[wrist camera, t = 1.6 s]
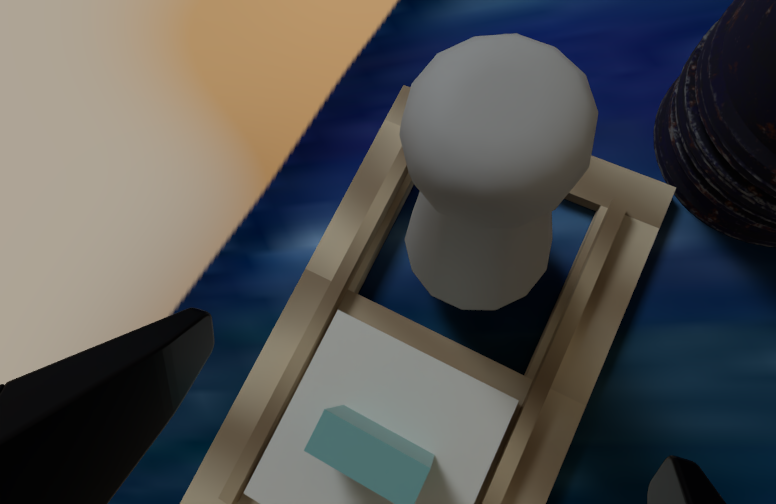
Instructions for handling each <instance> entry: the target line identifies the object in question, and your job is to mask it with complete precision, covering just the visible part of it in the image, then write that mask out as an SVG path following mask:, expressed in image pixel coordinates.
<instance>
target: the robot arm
mask: <svg viewBox="0 0 776 504" xmlns="http://www.w3.org/2000/svg"><path fill="white" fill-rule="evenodd" d="M213 346H214V334H213V324H212V317H211V315H210V313H208V312H206V311H203V310H200V309H197V308H188V309H186V310H183V311H181V312H178V313H176V314H173V315H171V316H168V317H166V318H163V319H161V320H159V321H156V322H154V323H151V324H149V325H147V326H144V327H141V328H139V329H137V330H134V331H132V332H129V333H127V334H124V335H122V336H119V337H117V338H114V339H112V340H110V341H107V342H105V343H103V344H100V345H97V346H95V347H92V348H90V349H87V350H85V351H82V352H80V353H78V354H75V355H73V356H70V357H68V358H65V359H63V360H60V361H58V362H56V363H53V364H51V365H48V366H46V367H43V368H41V369H38V370H36V371H33V372H31V373H28V374H26V375H24V376H21V377H19V378H16V379H14V380H12V381H9V382H7V383H6V384H5V385H4V384H1V385H0V504H107V503H108V502H109V501H110V499H111V498H112V497H113V495H114V494H115V493H116V491H117V490H118V489H119V487H120V486H121V485H122V483H123V482H124V481H125V479H126V478H127V477H128V475H129V474H130V473H131V471H132V470H133V469H134V467H135V466H136V465H137V463H138V462H139V461H140V459H141V458H142V457H143V455H144V454H145V453H146V451H147V450H148V449H149V447H150V446H151V445H152V443H153V442H154V441H155V439H156V438H157V437H158V435H159V434H160V433H161V431H162V430H163V429H164V427H165V426H166V425H167V423H168V422H169V420H170V419H171V418H172V416H173V415H174V413H175V412H176V410H177V409H178V407H179V406H180V404H181V402H182V401H183V399H184V397H185V396H186V394H187V392H188V391H189V389H190V387H191V386H192V384H193V382H194V381H195V379H196V377H197V376H198V374H199V372H200V371H201V369H202V367H203V366H204V364H205V362H206V360H207V359H208V357H209V355H210V354H211V352H212V350H213ZM647 504H726V503H725V501H724V500H723V498H722V497H721V496H720V494H719V493H718V492H717V490H716V489H715V488H714V486H713V485H712V483H711V482H710V481H709V479H708V478H707V477H706V475H705V474H704V472H703V471H702V470H701V468H700V467H699V466H698V465H697V464H696V463H694V462H693V461H690V460H687V459H683V458H680V457H677V456H669V457H667V458H666V459H665V461H664V462H663V464H662V465H661V467H660V468H659V470H658V471H657V473H656V474H655V476H654V477H653V479H652V480H651V482H650V484H649V488H648V495H647Z"/></svg>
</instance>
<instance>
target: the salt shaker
mask: <svg viewBox="0 0 776 504" xmlns="http://www.w3.org/2000/svg"><path fill="white" fill-rule="evenodd" d="M597 117H598V110H597V107H596V104H595V101H594V98H593V95H592V92H591V89H590V86H589V83H588V80H587V77H586V75H585V74H584V73H583V72H582V71H581V70H580V69H579V68H578V67H577V66H575V65H574V64H573V63H572V62H571V61H570V60H569V59H568V58H567V57H566V56H565V55H563V54H562V53H561V52H560V51H559V50H558V49H557V48H556V47H553V46H550V45H548V44H545V43H542V42H539V41H536V40H533V39H530V38H528V37H525V36H522V35H519V34H503V35H489V36H475V37H472V38H470V39H468V40H466V41H464V42H462V43H460V44H457V45H455V46H453V47H451V48H449V49H447V50H445V51H442V52H440V53H438V54H437V55H436V56H435V57H434V58H433V59H432V61H431V62H430V63H429V64H428V65H427V66H426V68H425V69H424V70H423V71H422V72H421V74H420V75H419V76H418V77H417V78H416V79H415V81H414V82H413V83H412V85H411V88H410V92H409V95H408V99H407V102H406V106H405V109H404V113H403V117H402V120H401V127H400V134H399V135H400V139H401V143H402V147H403V152H404V156H405V160H406V164H407V168H408V172H409V175H410V177H411V179H412V182H413V183H414V185H415V186H416V187H417V188H418V189H419V191H420V192H419V195H418V198H417V201H416V203H415V206H414V209H413V211H412V215H411V219H410V222H409V226H408V229H407V233H406V237H405V244H406V248H407V252H408V256H409V260H410V264H411V269H412V271H413V272H414V274H415V275H416V276H417V278H418V279H419V280H420V281H421V283H422V284H423V285H424V287H425V288H426V289H427V290H428V292H429V293H430V294H431V296H434V297H436V298H438V299H440V300H442V301H444V302H446V303H449V304H451V305H453V306H455V307H457V308H459V309H461V310H497V309H499V308H501V307H503V306H505V305H508V304H510V303H512V302H514V301H516V300H518V299H520V298H522V297H524V296H526V295H527V294H528V293H529V291H530V290H531V289H532V288H533V286H534V285H535V284H536V283H537V281H538V280H539V279H540V278H541V276H542V275H543V274H544V272H545V271H546V270H547V265H548V259H549V254H550V249H551V243H552V211H553V210H555V209H556V208H557V207H558V205H559V204H560V203H561V202H562V200H563V199H564V198H565V197H566V196H567V194H568V193H569V192H570V191H571V189H572V188H573V187H574V186H575V185H576V183H577V182H578V181H579V180H580V178H581V177H582V176H583V175H584V173H585V172H586V171H587V169H588V168H589V165H590V159H591V153H592V147H593V141H594V135H595V129H596V123H597Z"/></svg>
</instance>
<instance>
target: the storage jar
mask: <svg viewBox="0 0 776 504" xmlns="http://www.w3.org/2000/svg"><path fill="white" fill-rule="evenodd" d="M654 149H655V154H656V159H657V163H658V165H659V168H660V170H661V173H662V176H663V178H664V179H665V181H666V183H667V184H668V185H671V186H674V187H676V190H675V192H674V195H675V196H676V197H677V198H678V200H679V201H680V202H681V203H682V205H684V206H685V207H686V208H687V209H688V210H689V211H690V212H691V213H692V214H693V215H695V216H696V217H697V218H698V219H700V220H701V221H703V222H704V223H706V224H707V225H709V226H710V227H712V228H714V229H716V230H718V231H720V232H722V233H724V234H726V235H728V236H730V237H733V238H736V239H738V240H741V241H744V242H747V243H752V244H757V245H762V246H767V247H776V0H734V1H733V3H732V4H731V5H730V6H729V7H728V9H727V10H726V11H725V13H724V14H723V15H722V17H721V18H720V19H719V21H717V22H716V23H715V24H714V25H713V26H712V28H711V29H710V30H709V31H708V32H707V33H706V35H705V36H704V37H703V38H702V40H701V41H700V42H699V44H698V45H697V47H696V48H695V50H694V51H693V52H692V54H691V55H690V57H689V59H688V60H687V62H686V64H685V66H684V67H683V70H682V73H681V74H680V76H679V77H678V78H677V79H676V80H675V82H674V83H673V84H672V86H671V87H670V88H669V90H668V91H667V93H666V95H665V97H664V98H663V100H662V102H661V104H660V107H659V109H658V112H657V115H656V120H655V125H654Z"/></svg>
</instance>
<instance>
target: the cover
mask: <svg viewBox="0 0 776 504" xmlns="http://www.w3.org/2000/svg"><path fill="white" fill-rule="evenodd" d="M518 402H519V400H517V399H515V398H513V397H511V396H509V395H507V394H505V393H503V392H501V391H499V390H497V389H495V388H493V387H491V386H489V385H487V384H485V383H483V382H481V381H479V380H477V379H475V378H473V377H471V376H469V375H467V374H465V373H463V372H461V371H459V370H457V369H455V368H453V367H451V366H449V365H447V364H445V363H443V362H441V361H439V360H437V359H435V358H433V357H431V356H429V355H427V354H425V353H423V352H421V351H419V350H417V349H415V348H413V347H411V346H409V345H407V344H405V343H404V342H402V341H400V340H398V339H396V338H394V337H392V336H390V335H388V334H386V333H384V332H382V331H380V330H378V329H376V328H374V327H372V326H370V325H368V324H366V323H364V322H362V321H360V320H358V319H356V318H354V317H352V316H350V315H348V314H346V313H344V312H342V311H340V310H337V312H336V314H335V316H334V318H333V320H332V322H331V324H330V326H329V328H328V330H327V332H326V334H325V336H324V338H323V339H322V341H321V343H320V345H319V347H318V349H317V351H316V353H315V355H314V357H313V359H312V361H311V363H310V365H309V367H308V369H307V371H306V372H305V374H304V376H303V378H302V380H301V382H300V384H299V386H298V388H297V390H296V392H295V394H294V396H293V398H292V400H291V402H290V404H289V405H288V407H287V409H286V411H285V413H284V415H283V417H282V419H281V421H280V423H279V425H278V427H277V429H276V431H275V433H274V435H273V437H272V438H271V440H270V442H269V444H268V446H267V448H266V450H265V452H264V454H263V456H262V458H261V460H260V462H259V464H258V466H257V468H256V470H255V471H254V473H253V475H252V477H251V479H250V481H249V483H248V485H247V487H246V489H245V491H244V494H245V495H247V496H249V497H250V498H252V499H253V500H255V501H257V502H258V503H260V504H474V502H475V500H476V498H477V495H478V493H479V491H480V489H481V486H482V484H483V482H484V479H485V477H486V475H487V472H488V470H489V468H490V466H491V463H492V461H493V459H494V456H495V454H496V452H497V450H498V447H499V445H500V443H501V440H502V438H503V436H504V434H505V431H506V429H507V427H508V424H509V422H510V420H511V418H512V415H513V413H514V411H515V408H516V406H517V404H518Z"/></svg>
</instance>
